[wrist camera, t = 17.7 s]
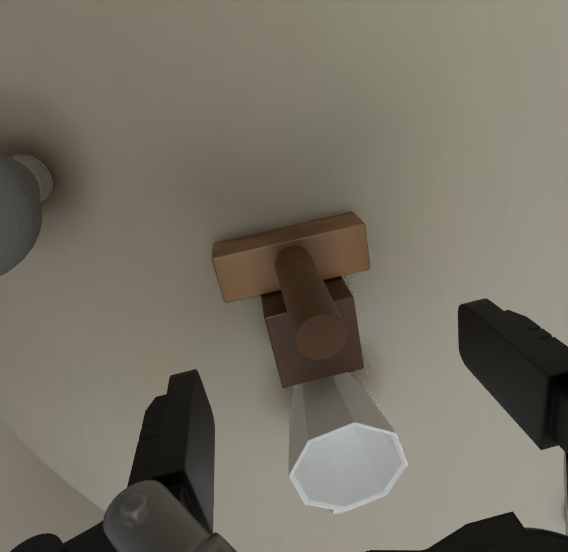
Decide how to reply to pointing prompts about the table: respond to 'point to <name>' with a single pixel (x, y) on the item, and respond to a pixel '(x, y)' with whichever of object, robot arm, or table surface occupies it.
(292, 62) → the table surface
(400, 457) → the cup
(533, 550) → the robot arm
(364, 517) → the table surface
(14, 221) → the light bulb
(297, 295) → the wooden rubber stamp
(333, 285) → the block
